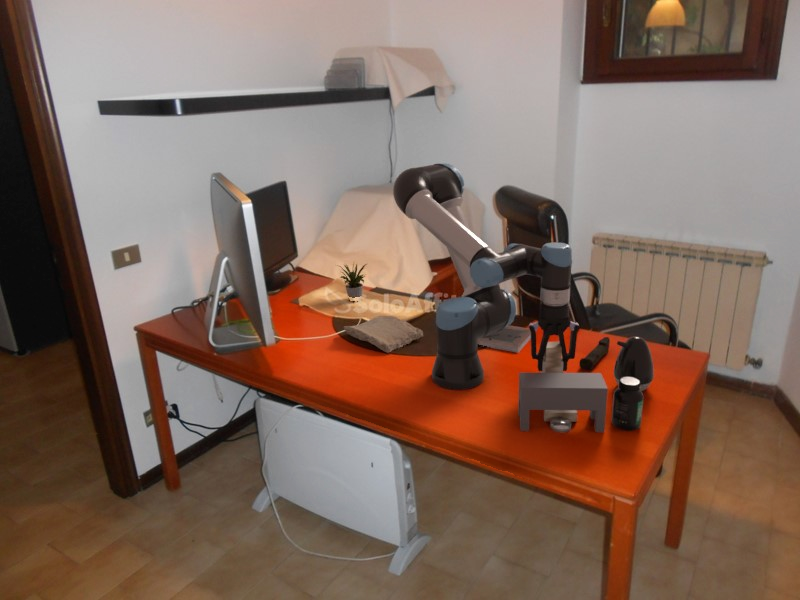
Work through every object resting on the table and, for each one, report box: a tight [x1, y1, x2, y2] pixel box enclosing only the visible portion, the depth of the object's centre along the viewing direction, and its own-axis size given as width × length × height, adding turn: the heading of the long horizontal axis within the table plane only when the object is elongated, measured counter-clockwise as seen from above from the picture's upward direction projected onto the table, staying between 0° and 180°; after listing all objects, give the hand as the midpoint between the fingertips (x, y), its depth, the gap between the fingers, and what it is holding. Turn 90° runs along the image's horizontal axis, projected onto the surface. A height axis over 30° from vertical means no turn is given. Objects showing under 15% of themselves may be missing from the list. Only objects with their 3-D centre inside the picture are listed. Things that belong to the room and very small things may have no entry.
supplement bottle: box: [611, 377, 644, 432], centre depth 146 cm, size 7×7×12 cm
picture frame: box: [477, 324, 531, 354], centre depth 202 cm, size 16×2×22 cm
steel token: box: [549, 417, 572, 434], centre depth 148 cm, size 5×5×2 cm
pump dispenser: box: [613, 335, 655, 392], centre depth 163 cm, size 10×10×15 cm
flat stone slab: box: [343, 315, 424, 354], centre depth 205 cm, size 24×8×20 cm
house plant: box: [336, 261, 368, 298], centre depth 241 cm, size 14×14×16 cm
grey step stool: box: [517, 371, 609, 433], centre depth 148 cm, size 20×8×12 cm, turn 84°
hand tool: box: [579, 336, 611, 372], centre depth 182 cm, size 19×4×5 cm, turn 140°
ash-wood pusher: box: [543, 341, 578, 423], centre depth 158 cm, size 8×20×14 cm, turn 174°
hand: (551, 380), depth 166 cm, fingers closed on ash-wood pusher, 4 cm apart
